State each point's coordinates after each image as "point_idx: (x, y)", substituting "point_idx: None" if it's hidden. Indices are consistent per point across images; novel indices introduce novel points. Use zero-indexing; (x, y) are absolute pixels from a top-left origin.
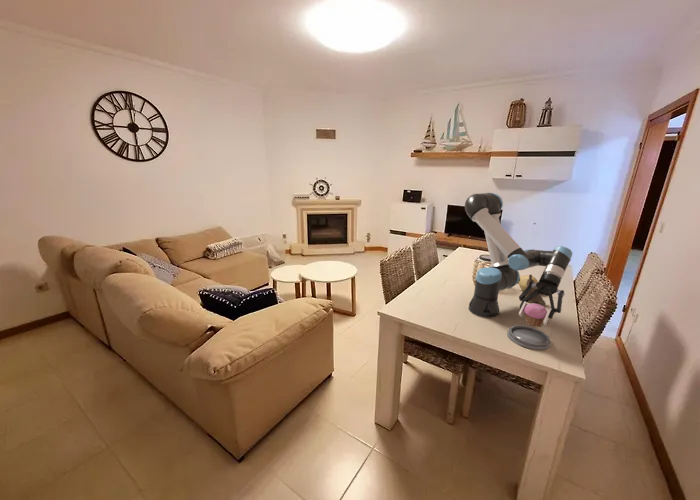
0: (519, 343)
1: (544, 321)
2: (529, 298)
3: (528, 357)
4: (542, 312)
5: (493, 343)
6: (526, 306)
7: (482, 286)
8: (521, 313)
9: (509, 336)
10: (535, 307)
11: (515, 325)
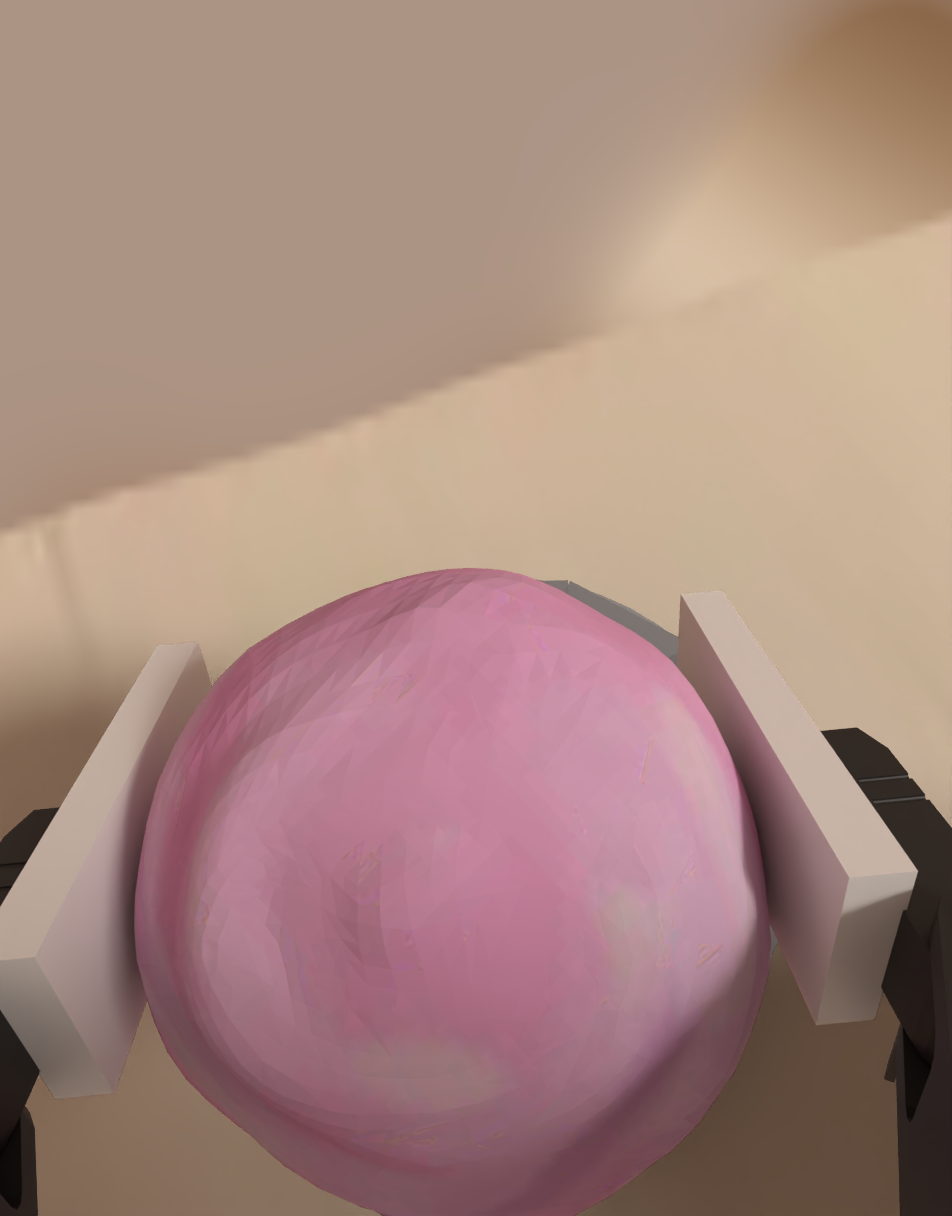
0: None
1: (166, 657)
2: (936, 1185)
3: (322, 453)
4: (201, 716)
5: (677, 382)
6: (687, 695)
7: None
8: (691, 659)
9: (654, 624)
10: (403, 677)
11: (771, 937)
